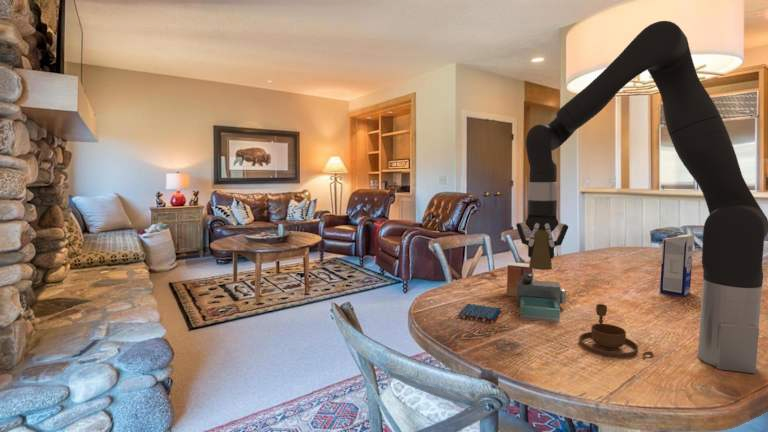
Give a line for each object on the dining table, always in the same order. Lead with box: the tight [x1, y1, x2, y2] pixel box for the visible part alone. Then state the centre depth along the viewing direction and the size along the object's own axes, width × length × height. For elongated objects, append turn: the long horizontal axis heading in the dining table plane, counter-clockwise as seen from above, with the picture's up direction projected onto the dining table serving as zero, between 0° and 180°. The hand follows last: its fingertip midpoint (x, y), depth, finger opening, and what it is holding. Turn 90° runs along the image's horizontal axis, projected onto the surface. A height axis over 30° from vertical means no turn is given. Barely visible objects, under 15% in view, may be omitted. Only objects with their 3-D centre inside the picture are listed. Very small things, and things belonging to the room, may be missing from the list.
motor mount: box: [516, 273, 567, 324], centre depth 116 cm, size 16×14×10 cm
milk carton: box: [659, 232, 695, 297], centre depth 132 cm, size 7×7×20 cm
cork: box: [529, 229, 553, 271], centre depth 111 cm, size 6×6×11 cm
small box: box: [506, 261, 536, 298], centre depth 131 cm, size 8×6×10 cm
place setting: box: [578, 303, 654, 361], centre depth 94 cm, size 18×20×6 cm
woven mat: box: [457, 303, 503, 324], centre depth 114 cm, size 10×11×2 cm
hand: (540, 259), depth 112 cm, fingers closed on cork, 4 cm apart
